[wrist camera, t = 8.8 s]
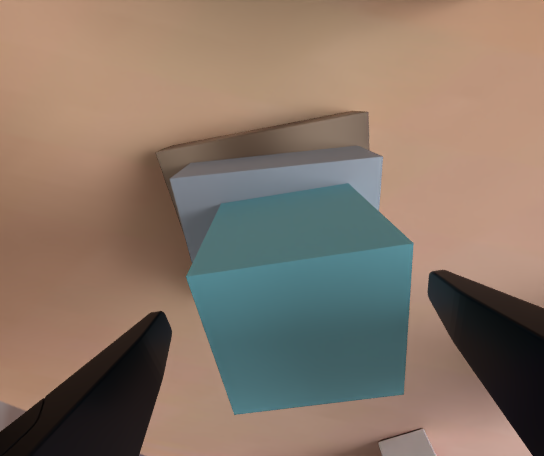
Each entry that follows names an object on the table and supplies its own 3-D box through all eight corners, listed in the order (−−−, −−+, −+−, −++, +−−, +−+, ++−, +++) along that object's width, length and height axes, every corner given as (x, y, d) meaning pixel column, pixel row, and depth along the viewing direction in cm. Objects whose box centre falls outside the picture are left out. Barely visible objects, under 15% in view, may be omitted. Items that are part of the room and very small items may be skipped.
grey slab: (357, 145, 13) (383, 156, 10) (353, 284, 16) (371, 320, 13) (190, 162, 13) (169, 178, 10) (220, 296, 16) (210, 334, 13)
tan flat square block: (349, 110, 15) (368, 111, 12) (357, 263, 19) (373, 289, 16) (175, 144, 15) (155, 152, 13) (219, 284, 19) (212, 313, 17)
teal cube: (348, 183, 10) (413, 243, 6) (352, 288, 12) (403, 394, 8) (221, 203, 10) (185, 276, 6) (246, 303, 13) (234, 414, 8)
